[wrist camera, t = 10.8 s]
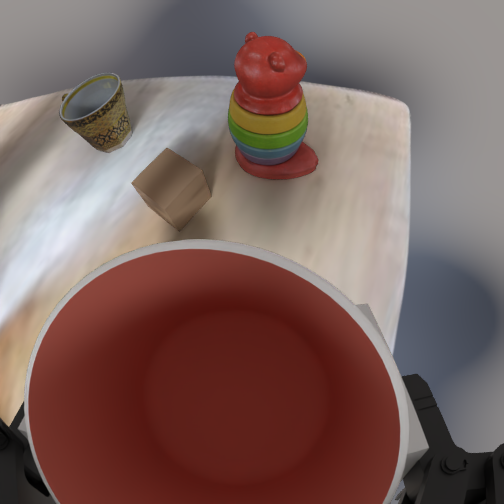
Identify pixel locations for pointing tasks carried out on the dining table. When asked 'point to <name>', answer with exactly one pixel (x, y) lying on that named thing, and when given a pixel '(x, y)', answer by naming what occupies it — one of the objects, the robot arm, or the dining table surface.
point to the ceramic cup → (98, 112)
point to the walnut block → (173, 188)
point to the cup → (213, 385)
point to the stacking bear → (270, 110)
